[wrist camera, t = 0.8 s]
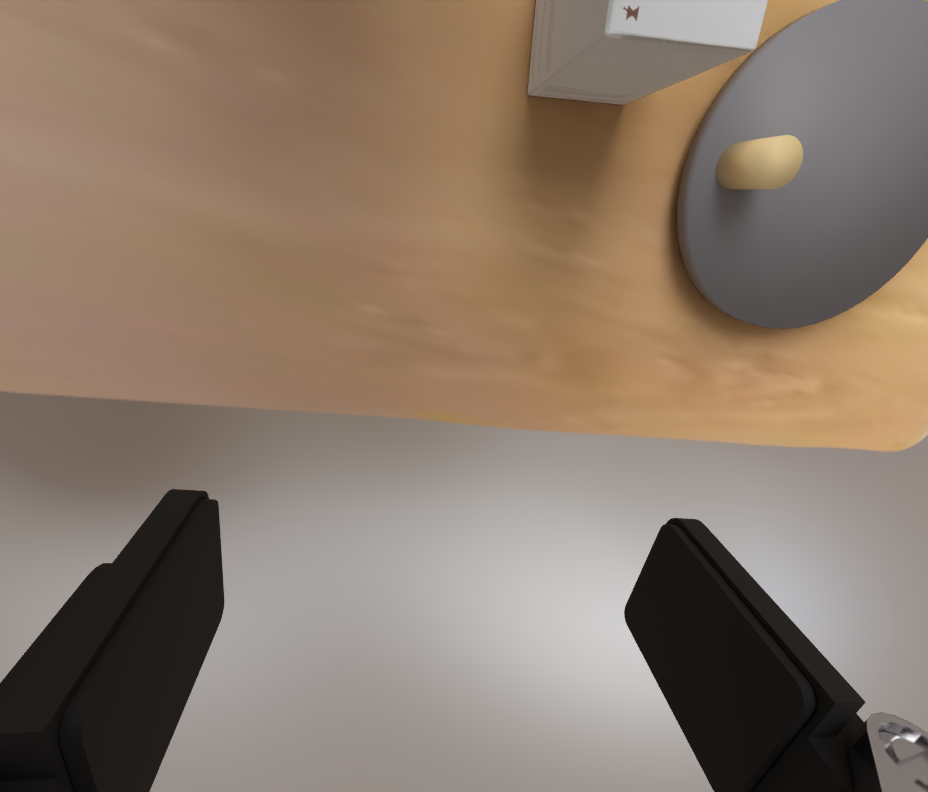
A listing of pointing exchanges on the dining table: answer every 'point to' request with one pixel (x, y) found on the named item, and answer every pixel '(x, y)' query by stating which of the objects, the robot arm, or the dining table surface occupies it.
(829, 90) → the disc
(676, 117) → the dining table surface
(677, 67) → the supplement box
